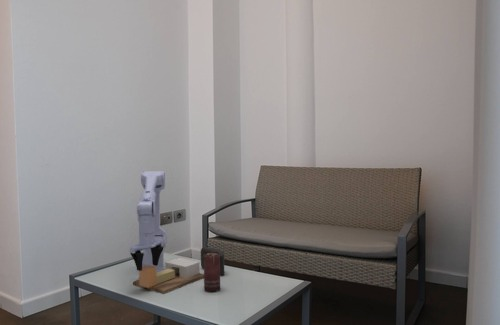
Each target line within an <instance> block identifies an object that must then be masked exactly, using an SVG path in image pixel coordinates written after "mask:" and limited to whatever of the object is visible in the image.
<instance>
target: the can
mask: <svg viewBox="0 0 500 325" xmlns="http://www.w3.org/2000/svg"><path fill="white" fill-rule="evenodd" d="M203 274H204V278H203V288H204V291H205V292H207V293H215V292H216V293H217V292H219V291H220V290H221V275H220V255H219V253H218V252H207V253H205V254H204V269H203Z"/></svg>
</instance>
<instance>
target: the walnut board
mask: <svg viewBox="0 0 500 325" xmlns="http://www.w3.org/2000/svg"><path fill="white" fill-rule="evenodd" d="M202 279H203V280H204V273H203V272H200V274H197V275H194V276H192V277H189V278H186V279H185V278H182V277H180V273H176V274H175V278H173V279H170V280H167V281H164V282H161V283H159V284H156V285H155V286H152V287H149V288H147V287H143V286H140V285H139V279H137V280H133V281H132V285H133V286H137V287H139V288H144V289H147V290H150V291H154V292H157V293H159V294H167V293H169V292H172V291H175V290H177V289H180V288H182V287H185V286H187V285H190V284H193V283H195V282H197V281H200V280H202Z"/></svg>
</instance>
